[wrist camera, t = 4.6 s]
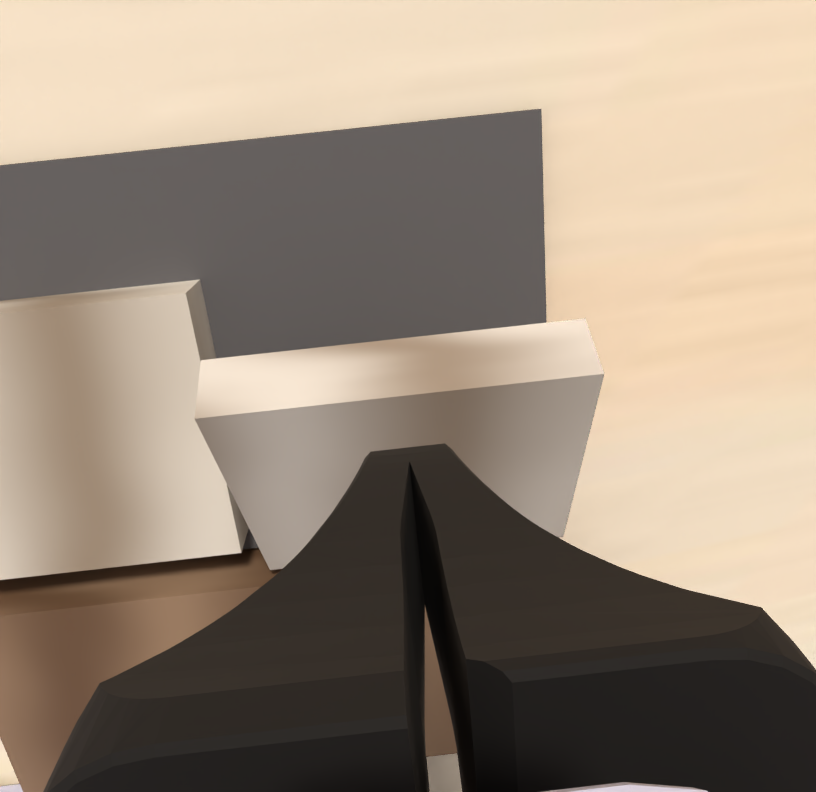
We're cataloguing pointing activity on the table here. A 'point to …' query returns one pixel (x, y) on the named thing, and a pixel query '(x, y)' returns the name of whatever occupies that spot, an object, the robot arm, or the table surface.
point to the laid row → (124, 644)
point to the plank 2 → (400, 420)
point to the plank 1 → (107, 433)
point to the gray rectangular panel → (299, 231)
